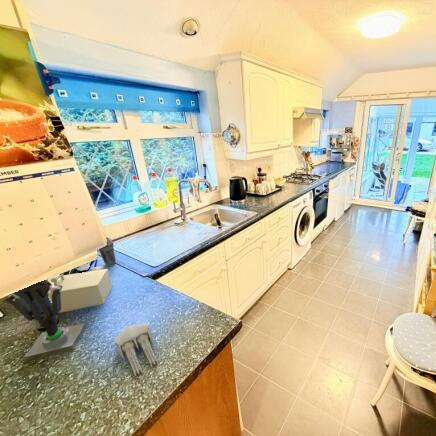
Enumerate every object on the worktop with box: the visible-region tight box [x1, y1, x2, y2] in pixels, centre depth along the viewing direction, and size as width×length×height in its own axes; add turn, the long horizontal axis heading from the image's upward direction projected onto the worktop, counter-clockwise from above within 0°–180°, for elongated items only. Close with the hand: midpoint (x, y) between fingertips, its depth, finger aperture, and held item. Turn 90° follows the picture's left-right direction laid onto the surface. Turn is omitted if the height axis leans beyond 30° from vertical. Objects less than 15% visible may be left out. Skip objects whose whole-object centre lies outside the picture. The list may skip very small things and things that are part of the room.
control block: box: [23, 323, 87, 363], centre depth 80 cm, size 12×10×4 cm
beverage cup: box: [98, 236, 117, 267], centre depth 124 cm, size 7×7×20 cm
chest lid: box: [48, 268, 109, 296], centre depth 97 cm, size 16×13×5 cm
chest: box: [48, 270, 114, 314], centre depth 100 cm, size 16×13×9 cm
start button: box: [46, 329, 62, 340], centre depth 79 cm, size 4×4×2 cm
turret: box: [113, 322, 159, 378], centre depth 78 cm, size 10×20×5 cm, turn 45°
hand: (53, 332), depth 79 cm, fingers closed
